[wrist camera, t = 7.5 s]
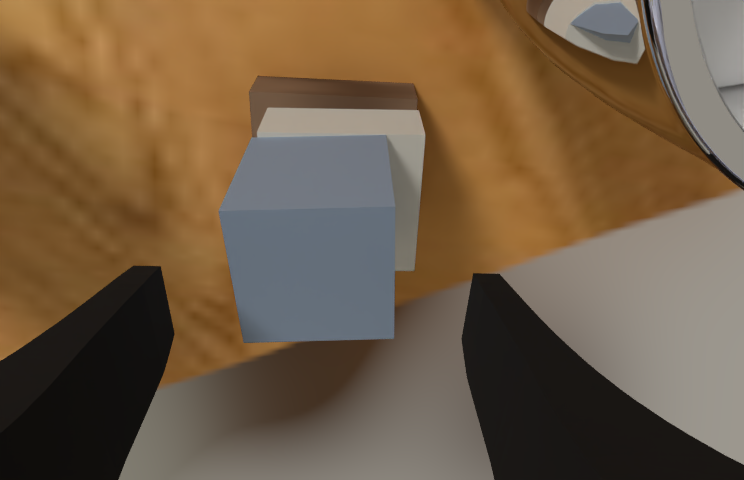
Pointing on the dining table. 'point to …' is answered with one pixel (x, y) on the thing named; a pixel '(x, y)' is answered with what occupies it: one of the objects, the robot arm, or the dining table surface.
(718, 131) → the beer glass
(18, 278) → the dining table surface
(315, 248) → the blue block
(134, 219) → the dining table surface
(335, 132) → the mid slab
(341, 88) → the base slab
